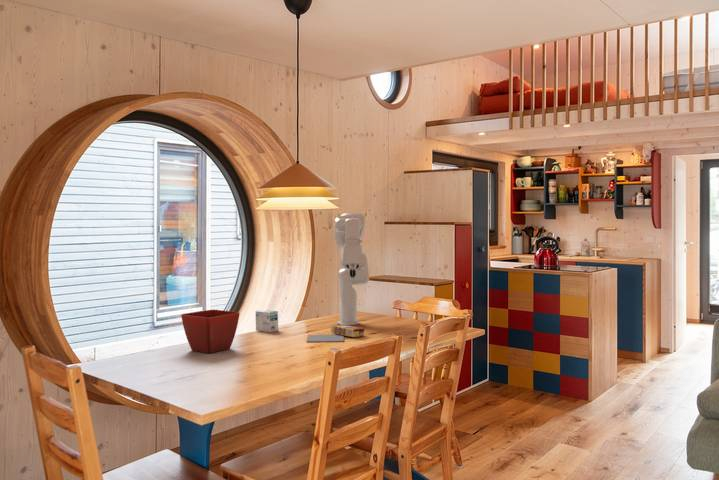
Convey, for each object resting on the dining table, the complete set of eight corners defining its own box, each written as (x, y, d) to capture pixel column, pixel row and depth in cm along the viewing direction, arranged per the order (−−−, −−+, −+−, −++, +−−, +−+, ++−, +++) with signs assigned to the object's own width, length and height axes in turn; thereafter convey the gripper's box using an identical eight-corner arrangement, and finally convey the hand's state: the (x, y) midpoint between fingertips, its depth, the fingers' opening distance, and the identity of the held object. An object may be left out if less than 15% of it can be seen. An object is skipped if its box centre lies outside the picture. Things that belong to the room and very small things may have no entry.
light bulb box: (278, 330, 316) (278, 310, 316) (270, 332, 310) (270, 312, 310) (263, 328, 322) (263, 309, 321) (255, 330, 316) (254, 310, 316)
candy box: (353, 328, 293) (330, 325, 303) (353, 337, 293) (330, 333, 303) (364, 327, 300) (342, 324, 310) (364, 335, 300) (342, 332, 310)
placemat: (308, 335, 301) (308, 334, 301) (343, 335, 302) (343, 334, 302) (306, 342, 285) (306, 341, 285) (343, 341, 286) (343, 340, 286)
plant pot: (213, 343, 284) (212, 308, 283) (241, 348, 273) (240, 312, 272) (180, 351, 268) (180, 314, 268) (208, 356, 257) (208, 318, 257)
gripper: (366, 241, 310) (366, 276, 311) (338, 242, 310) (338, 276, 310) (367, 242, 303) (367, 278, 303) (338, 242, 302) (338, 278, 303)
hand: (352, 277), depth 307 cm, fingers closed
